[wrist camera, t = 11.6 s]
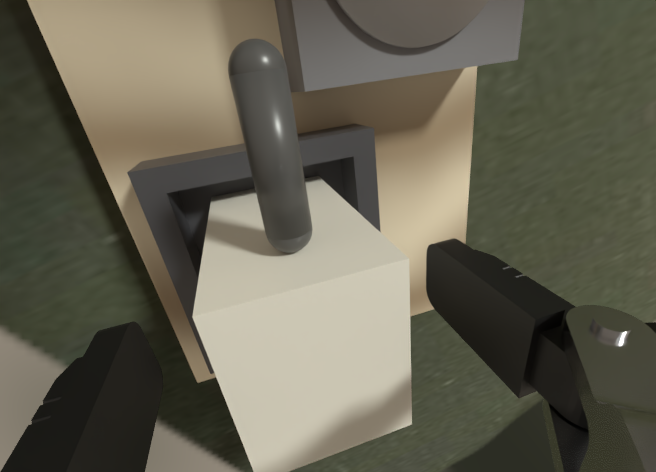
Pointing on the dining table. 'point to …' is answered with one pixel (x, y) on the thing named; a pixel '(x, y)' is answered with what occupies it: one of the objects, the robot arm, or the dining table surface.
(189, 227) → the frame
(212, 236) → the plug
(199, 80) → the board
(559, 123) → the dining table surface
